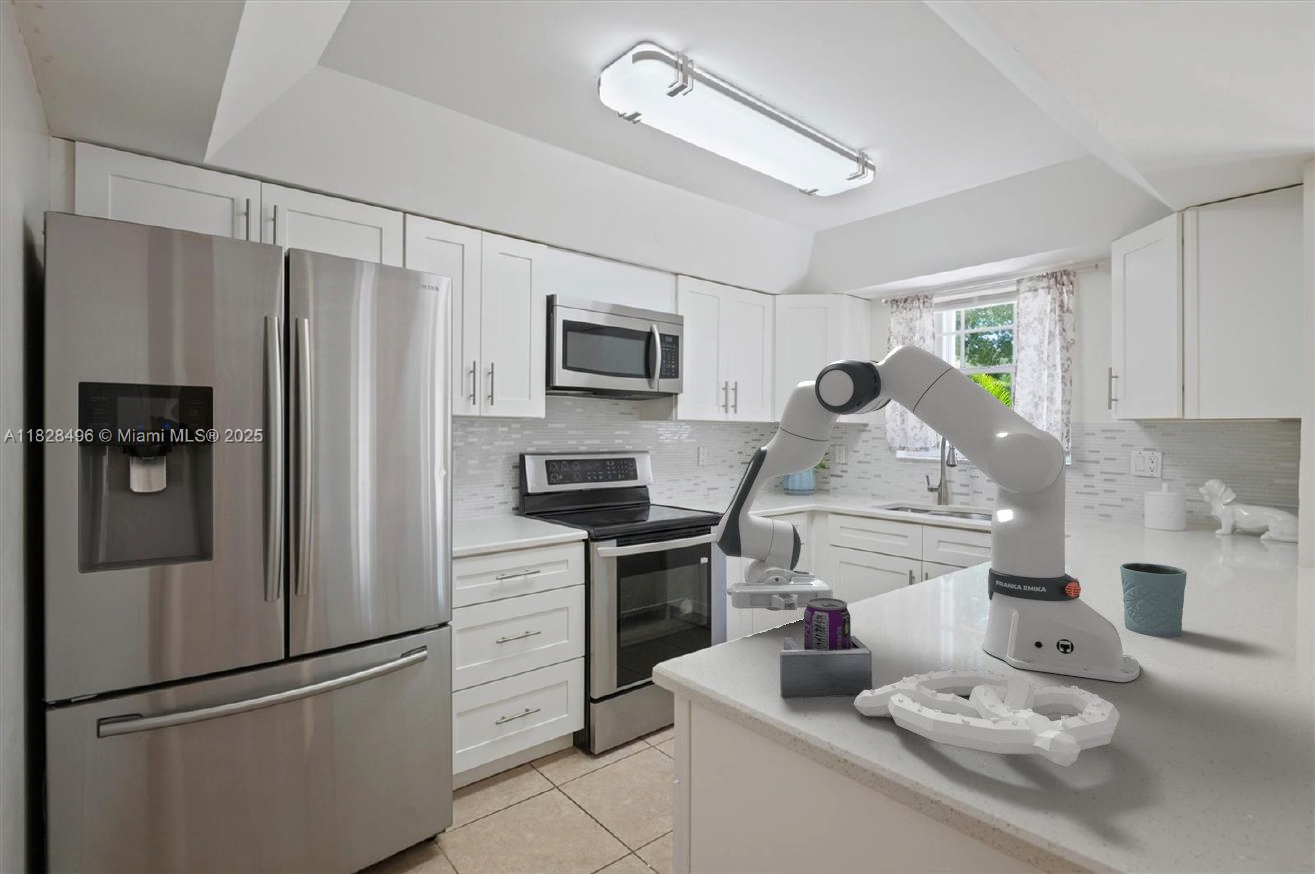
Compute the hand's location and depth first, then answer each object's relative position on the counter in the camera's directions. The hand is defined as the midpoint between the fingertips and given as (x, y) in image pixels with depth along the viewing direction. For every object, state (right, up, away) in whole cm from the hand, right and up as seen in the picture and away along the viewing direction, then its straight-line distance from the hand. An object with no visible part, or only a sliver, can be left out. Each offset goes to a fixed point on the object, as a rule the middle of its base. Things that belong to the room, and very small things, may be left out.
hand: (789, 605), depth 121 cm
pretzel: (+17, -6, -40) cm, 44 cm away
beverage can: (+2, -6, -21) cm, 22 cm away
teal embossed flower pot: (+70, -5, +1) cm, 70 cm away
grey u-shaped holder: (0, -6, -23) cm, 24 cm away
